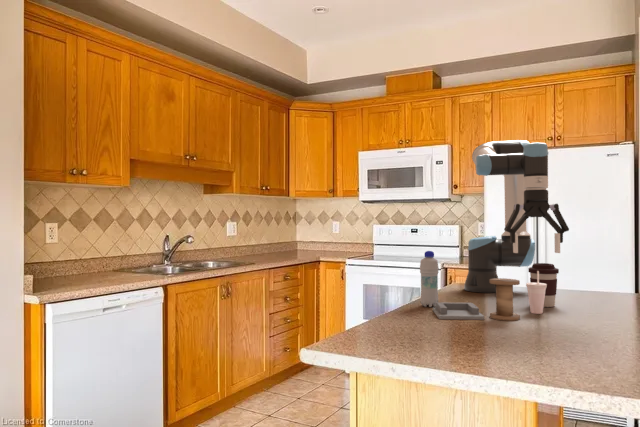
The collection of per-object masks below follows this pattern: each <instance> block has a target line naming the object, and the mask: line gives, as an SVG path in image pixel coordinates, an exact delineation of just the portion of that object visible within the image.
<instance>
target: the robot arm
mask: <svg viewBox="0 0 640 427" xmlns="http://www.w3.org/2000/svg"><path fill="white" fill-rule="evenodd" d="M471 157H472V159H471V160H472V162H473V163H474V165H475V174H476V175H477V176H484V177H485V176H487V177H488V176H503V177H504V181H503V182H504V187H503V188H504V230H503V231H504V232H502V234H501V237H500V238H498V239H497V236H496V235H489V236H488V235H486V236H478V237H473V238H471V239H469V240H468V246H467V251H468V253H467V254H468V257H467V258H468V259H467V260H468V266H467V267H468V269H467V270H468V271H467V275H466V279H465V281H464V287H463V290H464V291H466V292H471V293H481V294H482V293H487V294H488V293H489V294H490V293H492V294H493V293H496V285H495V284H490V281H489V280H490V279H495V278H499V277H498V273H497V270H498V268H497V267H515V268H516V267H517V268H522V267H529V266H531V265H533V264H532V263H533V262H534V258H535V251H536V243H535V239H533V238H531V234H530V233H529V232H528V230H527V220H528V219H529V218H544V219H545V220H546V221H547V222H548V224H549V225H550V226H551V227H552V229H554V231H555V233H554V253H555V254H561V244H563V242H564V233H566V232H569V230H570V228H569V225H568V224H567V222H566V220H565V219H564V216H563V215H562V213H561V211H560V207H559V204H558V203H552V204H549V190H548V188H549V148H548V144H547V143H546V142H531V143H530V142H529V141H528V140H521V139H520V140H519V139H516V140H515V139H514V140H513V139H512V140H496V141H495V140H493V141H487V142H484V143H482V144H480V145H478V146H477V147H476V148H475V149H473V152H472V154H471ZM549 210H551V211H552V213H553V215H554V217H555V218H556V221H557V222H556V221H555V219H554V218H552V216H551V214H549V212H548V211H549Z"/></svg>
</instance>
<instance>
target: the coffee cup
mask: <svg viewBox="0 0 640 427" xmlns="http://www.w3.org/2000/svg"><path fill="white" fill-rule="evenodd" d="M531 265H532V266H531V267H528V273H530V277H529V283H537V271H539V283H545V284H547V287H546V290H545V298H544V306H543V308H553V307H555V305H556V295H557V287H558V277H557V276H558V274H559V273H560V272H559V270H560V269H559V268H557V267H555V264H553V263H546V262H545V263H544V262H541V263H539V262H536V263H533V264H531Z"/></svg>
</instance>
